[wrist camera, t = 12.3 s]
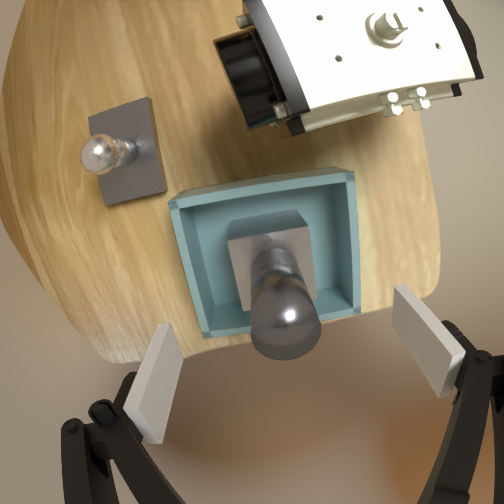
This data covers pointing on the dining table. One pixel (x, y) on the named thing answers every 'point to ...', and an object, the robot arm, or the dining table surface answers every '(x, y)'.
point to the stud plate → (146, 147)
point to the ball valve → (343, 59)
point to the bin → (257, 203)
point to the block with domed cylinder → (276, 282)
